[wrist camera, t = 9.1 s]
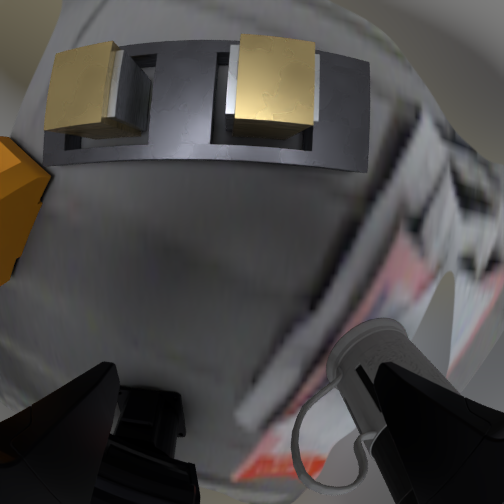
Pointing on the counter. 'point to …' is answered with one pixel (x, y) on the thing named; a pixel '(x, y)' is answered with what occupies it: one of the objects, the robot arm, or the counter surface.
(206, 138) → the tray
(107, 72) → the tan-capped ribbed block
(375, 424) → the glass holder
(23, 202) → the bracket
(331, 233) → the counter surface
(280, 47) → the gold metal block
